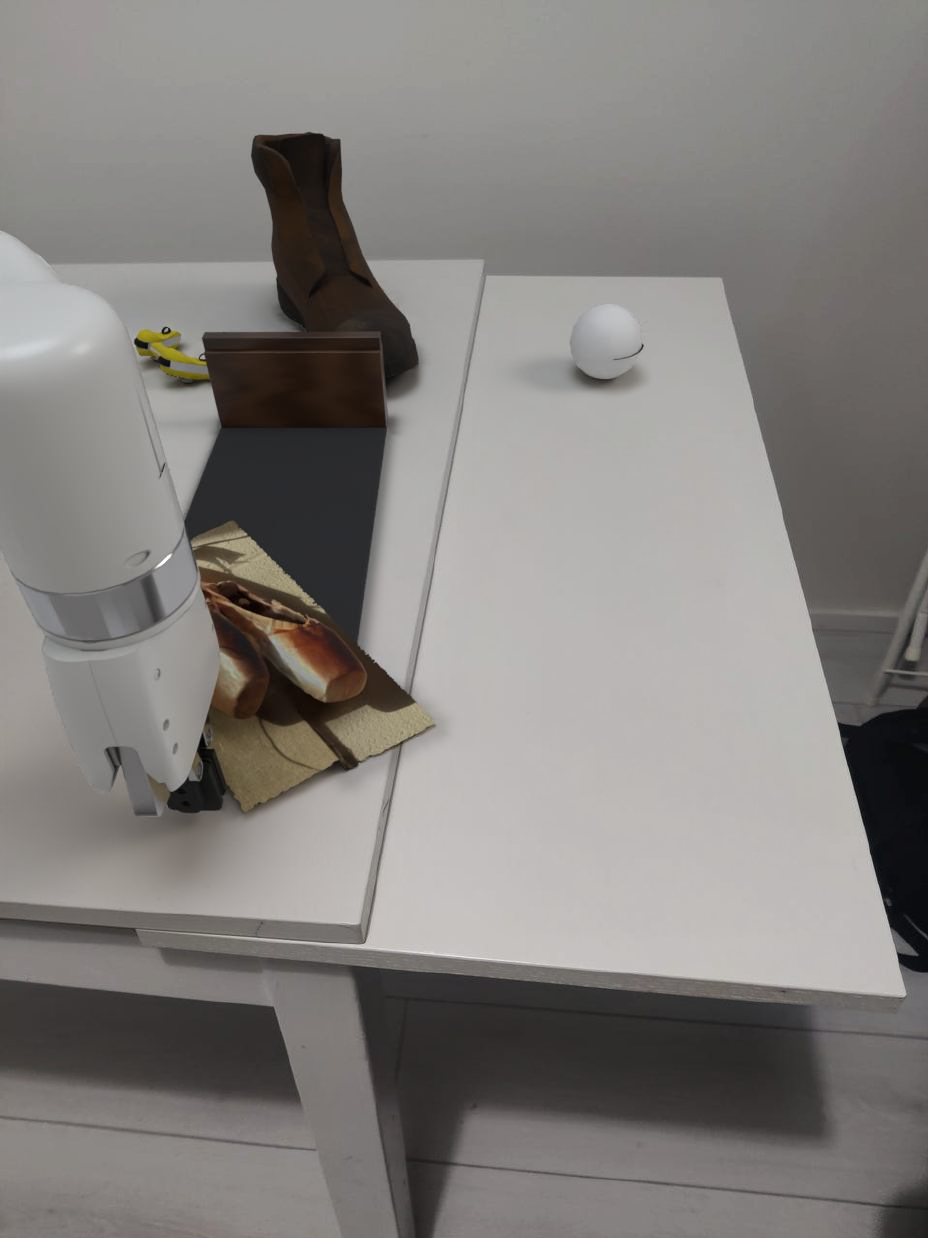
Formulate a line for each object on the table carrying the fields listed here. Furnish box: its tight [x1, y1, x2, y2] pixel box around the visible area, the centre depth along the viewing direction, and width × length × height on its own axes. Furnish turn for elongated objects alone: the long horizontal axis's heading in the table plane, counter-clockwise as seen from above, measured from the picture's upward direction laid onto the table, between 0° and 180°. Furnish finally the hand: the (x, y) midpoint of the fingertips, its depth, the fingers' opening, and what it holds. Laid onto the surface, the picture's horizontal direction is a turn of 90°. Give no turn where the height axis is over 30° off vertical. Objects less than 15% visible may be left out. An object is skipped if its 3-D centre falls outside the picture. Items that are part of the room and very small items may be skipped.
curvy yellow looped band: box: [133, 326, 210, 384], centre depth 92 cm, size 10×6×4 cm, turn 42°
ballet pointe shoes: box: [191, 521, 437, 813], centre depth 60 cm, size 14×7×28 cm
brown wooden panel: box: [201, 331, 389, 429], centre depth 82 cm, size 16×2×9 cm, turn 89°
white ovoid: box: [569, 303, 648, 380], centre depth 89 cm, size 10×7×7 cm
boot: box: [250, 131, 420, 379], centre depth 91 cm, size 11×30×20 cm, turn 27°
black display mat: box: [184, 427, 387, 644], centre depth 74 cm, size 16×30×1 cm, turn 179°
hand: (198, 799), depth 53 cm, fingers closed
